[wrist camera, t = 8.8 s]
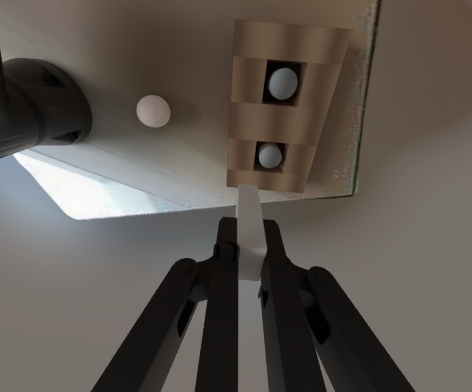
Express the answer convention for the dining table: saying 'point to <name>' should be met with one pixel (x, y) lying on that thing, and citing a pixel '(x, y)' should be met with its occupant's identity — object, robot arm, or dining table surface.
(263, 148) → the dowel
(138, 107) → the egg
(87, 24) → the dining table surface
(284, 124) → the walnut board
